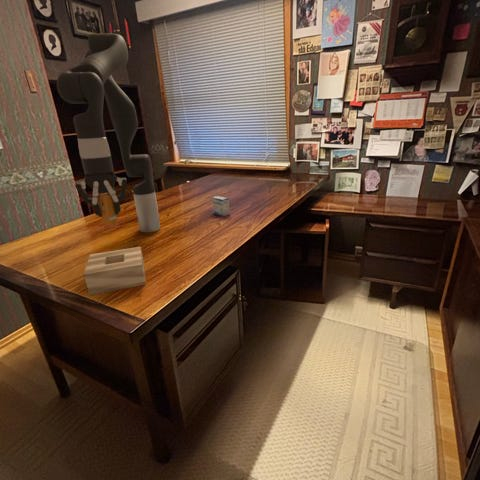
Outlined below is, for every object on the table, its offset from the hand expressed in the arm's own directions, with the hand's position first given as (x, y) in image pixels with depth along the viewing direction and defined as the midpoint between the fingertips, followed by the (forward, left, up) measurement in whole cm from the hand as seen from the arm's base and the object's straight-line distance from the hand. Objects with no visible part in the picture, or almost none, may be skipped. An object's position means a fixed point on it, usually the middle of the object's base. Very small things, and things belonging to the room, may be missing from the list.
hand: (108, 214), depth 88 cm
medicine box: (-51, +47, -22) cm, 73 cm away
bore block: (0, -1, -22) cm, 22 cm away
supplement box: (0, 0, -4) cm, 4 cm away
